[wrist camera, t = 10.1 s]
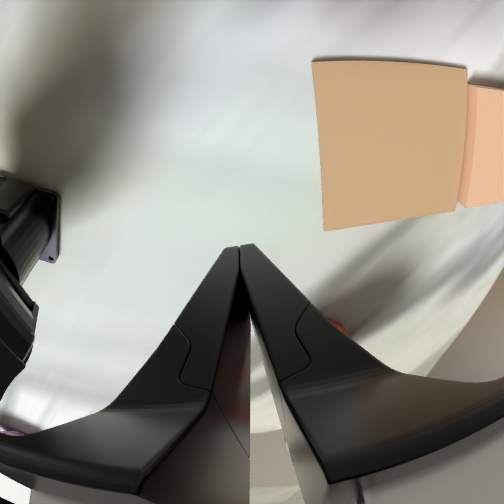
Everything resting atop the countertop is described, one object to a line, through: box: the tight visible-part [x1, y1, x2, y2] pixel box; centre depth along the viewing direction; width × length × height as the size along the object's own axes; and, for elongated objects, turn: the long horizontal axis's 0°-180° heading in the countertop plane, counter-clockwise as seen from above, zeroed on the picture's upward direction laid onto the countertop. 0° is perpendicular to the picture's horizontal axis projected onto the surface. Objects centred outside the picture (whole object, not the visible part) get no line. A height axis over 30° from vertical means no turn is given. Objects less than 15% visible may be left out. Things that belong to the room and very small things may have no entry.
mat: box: [311, 61, 467, 231], centre depth 19 cm, size 12×12×1 cm
